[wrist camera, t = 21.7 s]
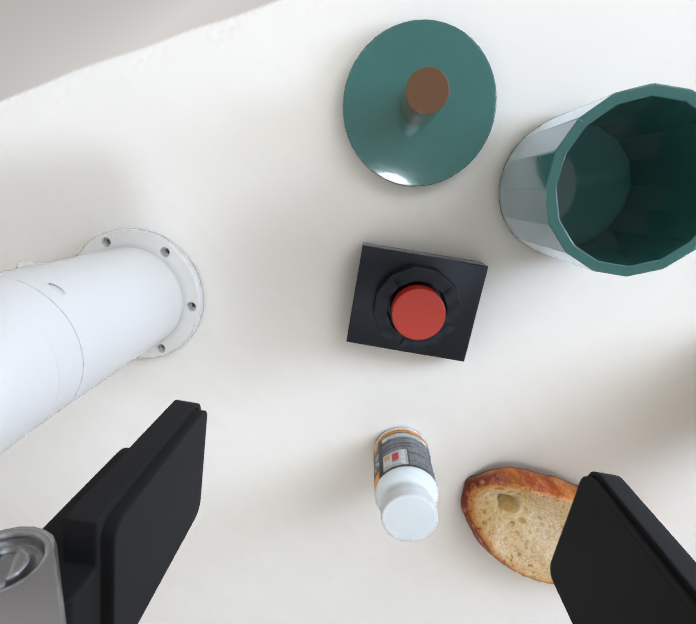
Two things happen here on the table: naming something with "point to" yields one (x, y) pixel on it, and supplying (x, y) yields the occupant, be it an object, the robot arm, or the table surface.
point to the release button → (418, 312)
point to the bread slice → (518, 517)
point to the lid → (419, 102)
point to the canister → (609, 182)
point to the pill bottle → (405, 484)
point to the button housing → (405, 270)
